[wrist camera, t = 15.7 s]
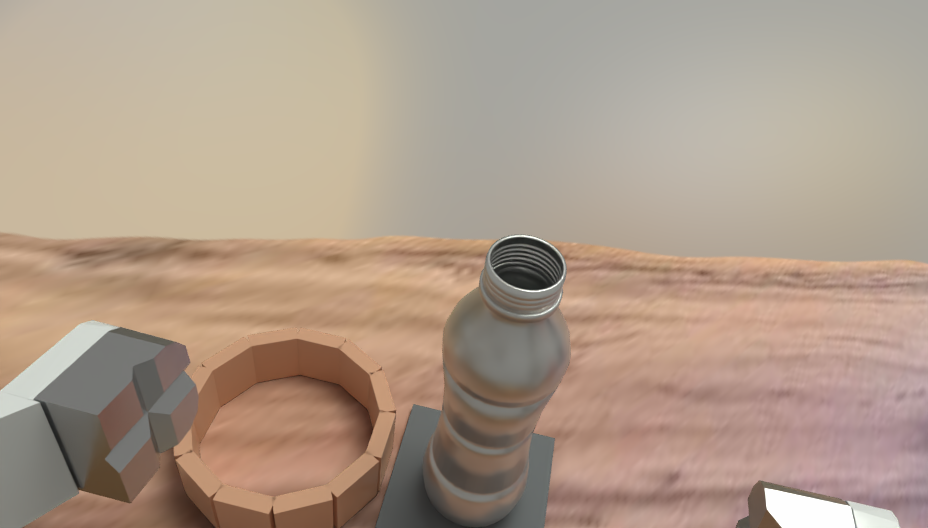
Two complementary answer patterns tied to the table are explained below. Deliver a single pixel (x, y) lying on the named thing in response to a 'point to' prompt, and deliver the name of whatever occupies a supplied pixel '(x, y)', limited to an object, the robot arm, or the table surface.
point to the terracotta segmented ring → (273, 357)
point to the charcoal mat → (406, 501)
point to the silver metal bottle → (497, 381)
